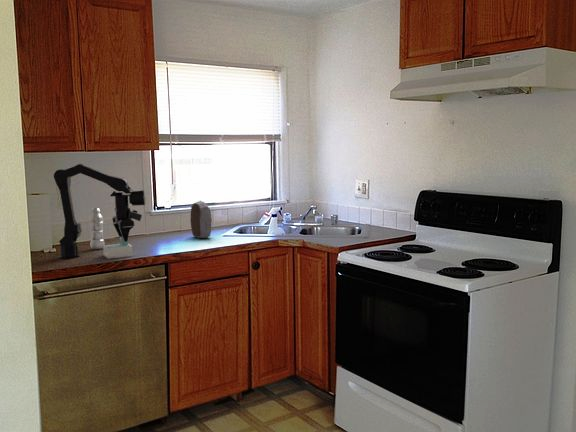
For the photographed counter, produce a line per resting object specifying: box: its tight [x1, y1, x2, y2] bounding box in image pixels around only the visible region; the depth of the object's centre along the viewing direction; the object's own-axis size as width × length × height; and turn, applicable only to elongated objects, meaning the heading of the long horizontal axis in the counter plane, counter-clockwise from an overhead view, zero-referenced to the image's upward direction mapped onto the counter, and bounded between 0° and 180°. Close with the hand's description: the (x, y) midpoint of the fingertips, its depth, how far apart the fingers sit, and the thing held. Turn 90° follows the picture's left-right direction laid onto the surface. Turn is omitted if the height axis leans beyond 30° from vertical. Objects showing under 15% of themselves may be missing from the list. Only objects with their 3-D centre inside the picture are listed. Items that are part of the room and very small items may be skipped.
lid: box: [105, 237, 131, 248], centre depth 251 cm, size 9×7×4 cm
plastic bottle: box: [88, 207, 106, 250], centre depth 268 cm, size 6×7×20 cm
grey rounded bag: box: [190, 200, 213, 239], centre depth 298 cm, size 15×8×20 cm, turn 37°
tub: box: [102, 243, 134, 260], centre depth 252 cm, size 11×9×5 cm
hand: (123, 240), depth 252 cm, fingers open, 9 cm apart
